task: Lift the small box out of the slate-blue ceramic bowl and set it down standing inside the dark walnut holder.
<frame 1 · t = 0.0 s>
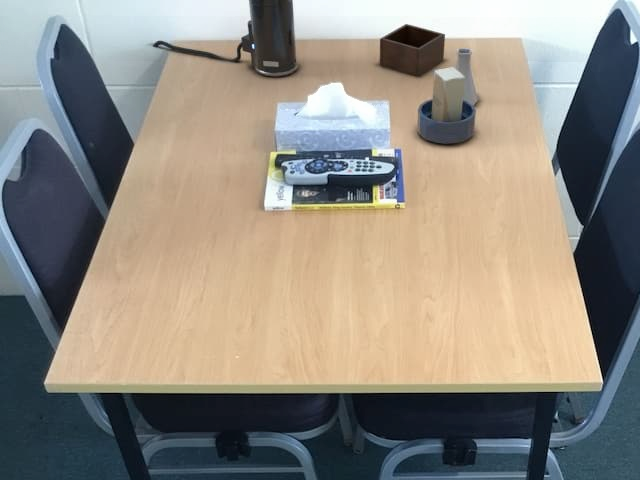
flask: (460, 101, 181), on the table
holder: (411, 62, 193), on the table
box: (445, 131, 171), resting on bowl
bowl: (445, 132, 171), on the table
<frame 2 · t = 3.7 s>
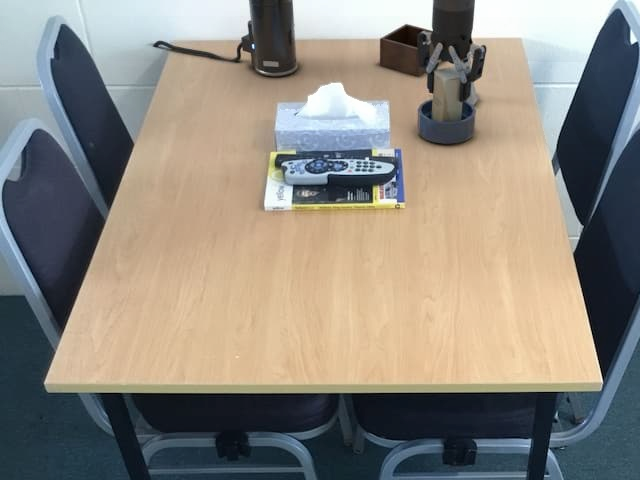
hand: (448, 96, 166), 7 cm above the table, tool pointing down, fingers closed on box, 6 cm apart
box: (445, 131, 171), resting on bowl, touching gripper
everything else where it was.
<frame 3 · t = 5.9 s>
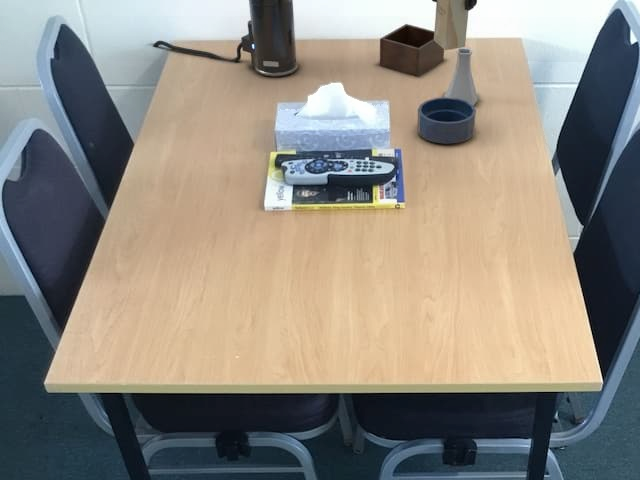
hand: (452, 4, 154), 23 cm above the table, tool pointing down, fingers closed on box, 6 cm apart
box: (449, 45, 159), point 16 cm above the table, touching gripper
everything else where it was.
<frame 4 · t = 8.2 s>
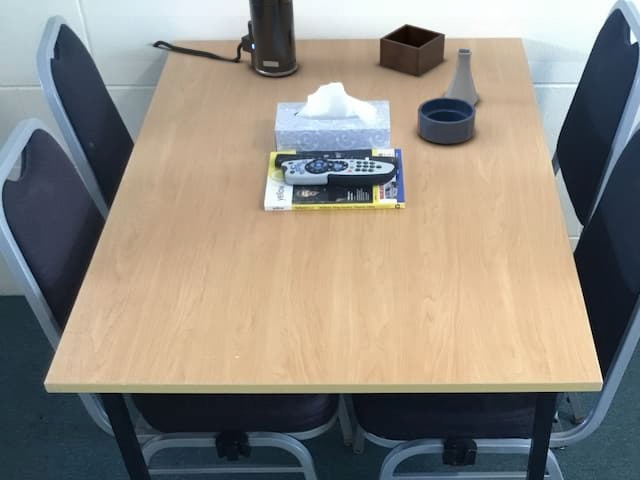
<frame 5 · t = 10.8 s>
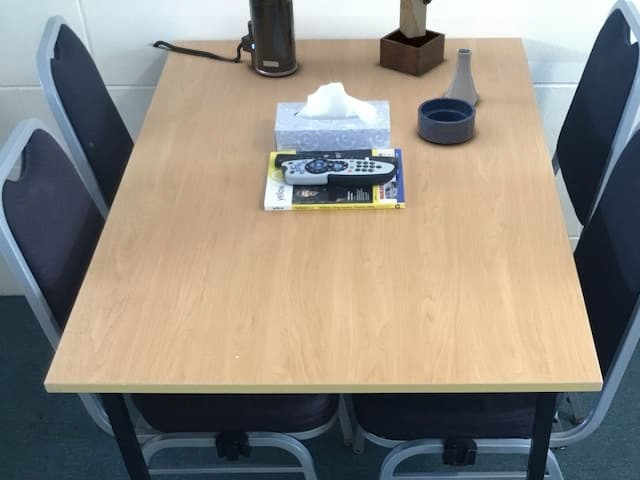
box: (412, 34, 189), point 6 cm above the table, touching gripper
everything else where it was.
when the fingers open (7 cm above the table, at t = 12.7 s): box stays where it is, resting on holder.
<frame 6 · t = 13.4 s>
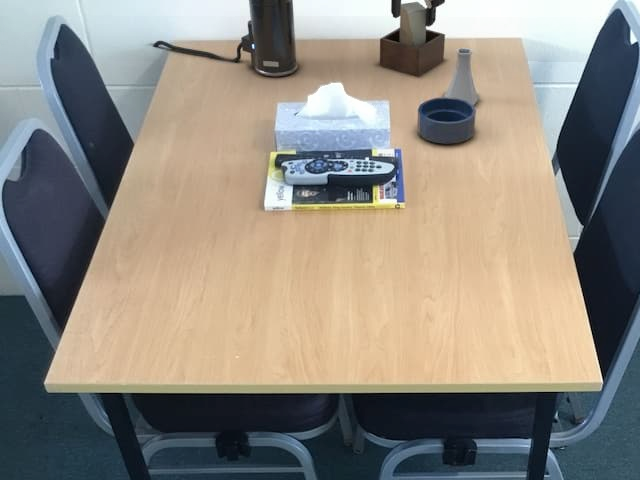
hand: (412, 21, 187), 9 cm above the table, tool pointing down, fingers open, 8 cm apart
box: (411, 60, 193), resting on holder
everything else where it was.
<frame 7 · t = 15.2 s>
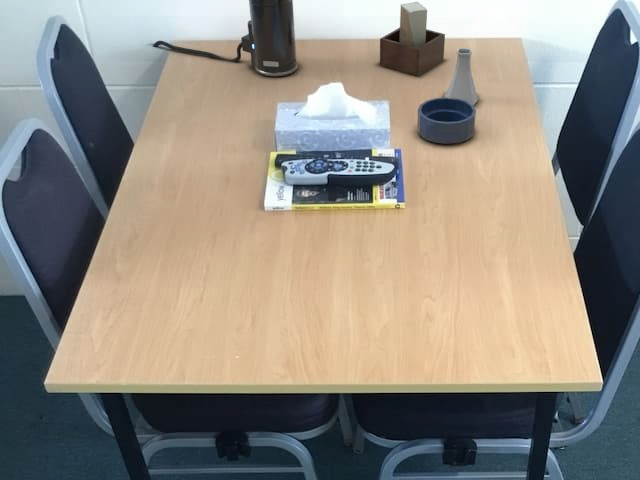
nothing on the table moved.
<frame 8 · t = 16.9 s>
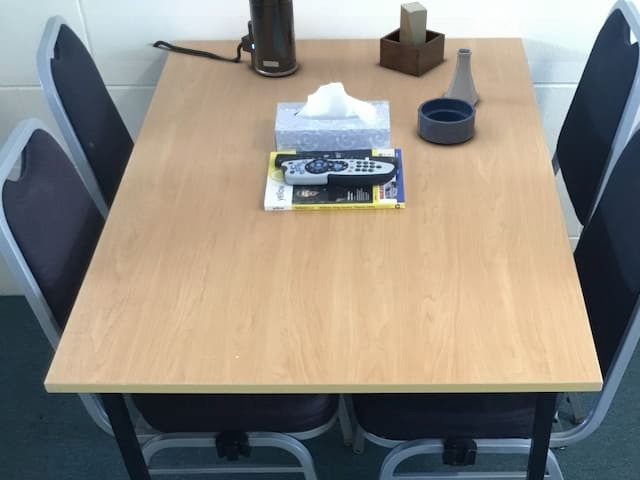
nothing on the table moved.
at the end: box inside the target area in the holder (0.1 cm from its centre), point 0.4 cm above the holder's base; box tilted 0°; the gripper is holding nothing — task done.
